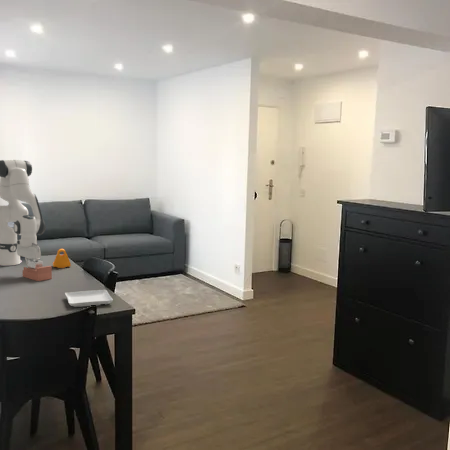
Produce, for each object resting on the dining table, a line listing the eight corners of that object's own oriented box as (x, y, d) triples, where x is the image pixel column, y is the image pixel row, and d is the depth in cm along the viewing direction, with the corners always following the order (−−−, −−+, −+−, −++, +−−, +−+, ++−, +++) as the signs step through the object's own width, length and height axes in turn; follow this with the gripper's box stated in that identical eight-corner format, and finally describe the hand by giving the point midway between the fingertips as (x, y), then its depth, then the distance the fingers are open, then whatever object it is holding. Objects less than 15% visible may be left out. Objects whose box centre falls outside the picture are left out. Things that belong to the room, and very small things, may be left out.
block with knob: (27, 270, 299) (27, 259, 298) (35, 269, 303) (35, 258, 302) (35, 272, 294) (35, 261, 293) (43, 271, 298) (43, 260, 297)
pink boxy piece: (22, 276, 299) (22, 264, 298) (36, 274, 306) (36, 262, 305) (38, 281, 289) (38, 268, 288) (51, 278, 297) (51, 266, 296)
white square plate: (69, 309, 238) (69, 302, 238) (64, 298, 258) (64, 291, 257) (113, 306, 247) (113, 299, 246) (105, 295, 266) (105, 289, 266)
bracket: (69, 265, 336) (69, 247, 335) (70, 267, 330) (70, 249, 328) (52, 265, 332) (52, 248, 331) (53, 268, 326) (53, 250, 324)
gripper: (43, 243, 296) (43, 266, 298) (24, 239, 309) (24, 261, 310) (34, 245, 291) (34, 268, 293) (14, 240, 304) (15, 263, 305)
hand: (29, 264), depth 302 cm, fingers closed
